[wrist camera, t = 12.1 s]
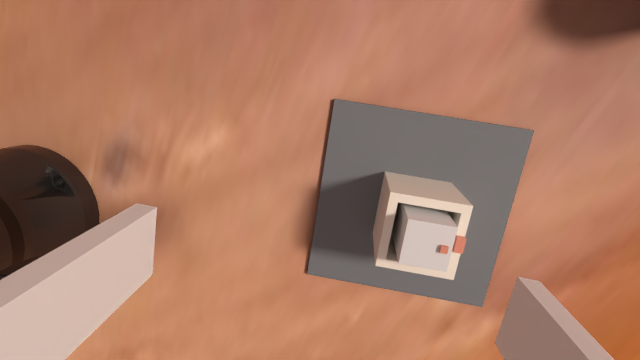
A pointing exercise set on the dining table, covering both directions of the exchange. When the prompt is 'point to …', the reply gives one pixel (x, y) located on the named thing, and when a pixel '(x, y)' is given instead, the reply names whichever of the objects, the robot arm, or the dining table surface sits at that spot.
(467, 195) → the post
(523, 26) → the dining table surface
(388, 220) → the cream square sleeve
